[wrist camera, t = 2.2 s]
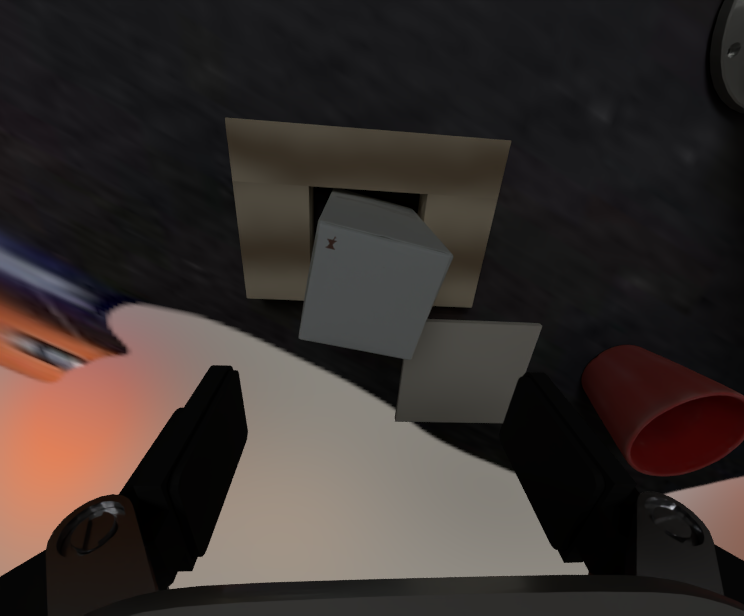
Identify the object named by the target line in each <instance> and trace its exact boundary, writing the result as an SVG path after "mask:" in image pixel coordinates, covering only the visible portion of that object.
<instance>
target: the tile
mask: <svg viewBox="0 0 744 616" xmlns="http://www.w3.org/2000/svg"><path fill="white" fill-rule="evenodd" d="M541 328H542V325H541V324H540V323H521V322H495V321H469V320H443V319H427V320H426V323H425V325H424V328H423V330H422V333H421V335H420V338H419V340H418V343H417V345H416V348H415V351H414V353H413V356H412V358H411V360H406V359H403V362H402V370H401V377H400V384H399V391H398V398H397V406H396V413H395V421H398V422H404V421H405V422H463V423H503V421H504V419H505V416H506V413H507V410H508V407H509V404H510V401H511V398H512V396H513V393H514V390H515V387H516V384H517V381H518V379H519V378H520V377H523V375H524V374H525V372H526V370H527V367H528V364H529V361H530V359H531V356H532V353H533V350H534V348H535V345H536V342H537V339H538V337H539V334H540V331H541Z"/></svg>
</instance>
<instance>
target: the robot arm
mask: <svg viewBox="0 0 744 616" xmlns="http://www.w3.org/2000/svg"><path fill="white" fill-rule="evenodd" d="M710 73H711V77H712V81H713V85H714V88H715V90H716V92H717V94H718V95H719V97H720V99H721V100H722V101H723V102H724V103H725V104H726V105H727V106H728V107H729V108H731V109H733V110H735V111H737V112H739V113H742V114H744V0H724V2H723V4H722V7H721V9H720V11H719V14H718V18H717V21H716V24H715V28H714V31H713V35H712V42H711V49H710ZM247 434H248V429H247V423H246V416H245V410H244V405H243V397H242V392H241V385H240V378H239V373H238V371H236V370H233V368H232V366H218V365H216V366H215V365H213V366H211V367H210V368H209V370H208V371H207V373H206V374H205V376H204V377H203V379H202V380H201V382H200V384H199V385H198V387H197V388H196V390H195V391H194V393H193V394H192V396H191V397H190V399H189V400H188V402H187V403H186V405H185V407H184V408H179V409H177V410H176V411H175V412H174V413H173V415H172V416H171V418H170V419H169V421H168V422H167V424H166V425H165V427H164V428H163V430H162V431H161V433H160V434H159V436H158V437H157V439H156V440H155V441H154V443H153V444H152V446H151V448H150V449H149V450H148V452H147V453H146V455H145V456H144V458H143V459H142V461H141V462H140V464H139V465H138V467H137V468H136V470H135V471H134V473H133V474H132V476H131V477H130V479H129V480H128V482H127V483H126V484H125V486H124V488H123V489H122V491H121V492H120V494H119V495H114V494H112V495H107V496H101V497H99V498H96V499H94V500H91V501H89V502H87V503H85V504H84V505H82V506H80V507H79V508H77V509H76V510H74V511H73V512H72V513H71V514H69V515H68V516H67V517H66V518H65V519H63V521H62V522H61V523H60V524H59V525H58V526H57V528H56V529H55V530H54V531H53V533H52V535H51V537H50V539H49V541H48V543H47V548H46V550H44V551H43V552H41V553H39V554H38V555H36V556H34V557H33V558H31V559H29V560H27V561H26V562H24V563H23V564H21V565H19V566H17V567H16V568H14V569H12V570H11V571H9V572H8V573H6V574H4V575H2V576H1V577H0V616H744V561H743V560H741V559H739V558H738V557H736V556H734V555H732V554H731V553H729V552H727V551H725V550H723V549H722V548H720V547H718V546H717V545H715V544H714V542H713V539H712V536H711V534H710V531H709V530H708V529H707V527H706V526H705V524H704V523H703V522H702V521H701V520H700V519H699V518H698V517H697V516H696V515H695V514H694V513H693V512H692V511H691V510H690V509H688V508H687V507H686V506H684V505H683V504H681V503H680V502H678V501H676V500H675V499H673V498H671V497H669V496H666V495H664V494H661V493H657V492H652V491H648V492H643V493H641V494H640V493H639V492H638V491H637V490H636V488H635V486H636V485H637V483H636V482H635V481H634V480H633V479H632V477H631V476H630V475H629V474H628V473H627V471H626V470H625V469H624V468H623V467H622V465H621V464H620V463H619V462H618V461H617V459H616V458H615V457H614V456H613V455H612V453H611V452H610V451H609V450H608V449H607V447H606V446H605V445H604V444H603V442H602V441H601V440H600V439H599V438H598V436H597V435H596V434H595V433H594V432H593V430H592V429H591V428H590V427H589V426H588V424H587V423H586V422H585V421H584V420H583V418H582V417H581V416H580V415H579V414H578V412H577V411H576V410H575V409H574V408H573V406H572V405H571V404H570V403H569V401H568V400H567V399H566V398H565V397H564V395H563V394H562V393H561V392H560V391H559V389H558V388H557V387H556V386H555V385H554V383H553V382H552V381H551V380H550V379H549V377H548V376H547V375H546V374H545V373H531V372H527V373H525V374H524V375H523V377H520V378H519V379H518V381H517V384H516V387H515V390H514V393H513V396H512V398H511V401H510V404H509V407H508V410H507V413H506V416H505V419H504V421H503V424H502V427H501V430H500V441H501V444H502V446H503V448H504V450H505V452H506V454H507V456H508V458H509V460H510V462H511V464H512V467H513V469H514V471H515V473H516V475H517V477H518V479H519V481H520V483H521V485H522V487H523V489H524V491H525V493H526V495H527V497H528V499H529V501H530V503H531V505H532V507H533V509H534V511H535V513H536V515H537V518H538V520H539V522H540V524H541V526H542V528H543V530H544V532H545V534H546V536H547V538H548V540H549V542H550V544H551V546H552V547H553V548H554V549H556V550H558V552H559V554H560V555H561V557H562V559H563V561H564V563H572V562H583V561H584V563H585V565H586V567H587V568H588V570H589V573H588V575H542V576H541V575H540V576H488V577H447V578H407V579H369V580H337V581H304V582H271V583H250V584H230V585H212V586H196V587H187V588H177V589H169V587H168V586H170V585H171V584H172V583H173V582H174V579H175V577H176V574H177V572H178V571H192V570H193V568H194V565H195V562H196V560H197V557H202V556H203V555H204V554H205V552H206V550H207V547H208V545H209V542H210V539H211V536H212V533H213V531H214V528H215V525H216V523H217V520H218V517H219V515H220V512H221V509H222V506H223V504H224V501H225V498H226V495H227V493H228V490H229V487H230V484H231V482H232V478H233V476H234V474H235V470H236V468H237V465H238V462H239V460H240V457H241V454H242V451H243V449H244V446H245V443H246V440H247Z"/></svg>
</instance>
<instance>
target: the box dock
mask: <svg viewBox="0 0 744 616" xmlns="http://www.w3.org/2000/svg"><path fill="white" fill-rule="evenodd" d="M225 123H226V131H227V139H228V147H229V156H230V164H231V172H232V180H233V188H234V196H235V205H236V213H237V221H238V229H239V237H240V245H241V254H242V262H243V270H244V278H245V286H246V294H247V298H255V299H279V300H302V301H304V298H305V291H306V285H307V279H308V273H309V267H310V262H311V257H312V251H313V246H314V187H328V188H343V189H358V190H373V191H388V192H403V193H418V194H420V198H419V206H418V213H417V215H418V216H419V217H420V218H421V219H422V221H423V222H424V223H425V224H426V225H427V226H428V227H429V228H430V229H431V231H432V232H433V233H434V234H435V235H436V236H437V237H438V238H439V239H440V241H441V242H442V243H443V244H444V245H445V246H446V247H447V249H448V250H449V251H450V252H451V253H452V254H453V260H452V262H451V264H450V266H449V269H448V271H447V273H446V276H445V278H444V281H443V283H442V285H441V287H440V290H439V292H438V294H437V297H436V299H435V301H434V304H433V306H446V307H470V308H472V304H473V300H474V296H475V291H476V287H477V283H478V279H479V275H480V270H481V266H482V262H483V258H484V254H485V249H486V245H487V241H488V237H489V233H490V228H491V224H492V220H493V216H494V212H495V207H496V203H497V199H498V195H499V191H500V186H501V182H502V178H503V174H504V170H505V165H506V161H507V157H508V153H509V149H510V144H511V141H508V140H496V139H483V138H471V137H459V136H446V135H434V134H421V133H409V132H397V131H384V130H372V129H360V128H347V127H335V126H323V125H310V124H298V123H285V122H273V121H261V120H248V119H236V118H225Z"/></svg>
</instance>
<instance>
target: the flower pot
mask: <svg viewBox="0 0 744 616" xmlns="http://www.w3.org/2000/svg"><path fill="white" fill-rule="evenodd" d="M581 382H582V387H583V389H584V391H585V393H586V394H587V396H588V398H589V400H590V401H591V403H592V405H593V407H594V408H595V410H596V412H597V413H598V415H599V417H600V418H601V420H602V422H603V423H604V425H605V427H606V428H607V430H608V431H609V433H610V435H611V436H612V438H613V440H614V441H615V443H616V445H617V446H618V448H619V450H620V451H621V453H622V454H623V456H624V458H625V459H626V461H627V462H628V463H629V465H630V466H632V467H633V468H634V469H635V470H637V471H639V472H641V473H644V474H647V475H653V476H675V475H681V474H686V473H689V472H693V471H696V470H699V469H701V468H703V467H706V466H708V465H710V464H712V463H714V462H716V461H718V460H720V459H721V458H723V457H724V456H726V455H727V454H729V453H730V452H731V451H732V450H734V449H735V448H736V447H737V446H738V445H739V444H740V443H741V442H742V441H743V440H744V395H742V394H740V393H738V392H736V391H734V390H732V389H730V388H728V387H726V386H724V385H722V384H720V383H718V382H716V381H714V380H711V379H709V378H707V377H705V376H703V375H701V374H699V373H696V372H694V371H692V370H690V369H688V368H686V367H684V366H682V365H679V364H677V363H675V362H673V361H671V360H668V359H666V358H664V357H661V356H659V355H657V354H654V353H652V352H650V351H648V350H645V349H643V348H641V347H638V346H635V345H620V346H616V347H612V348H610V349H607V350H605V351H603V352H602V353H600V354H599V355H598V356H597V357H596V358H594V359H593V360H591V361H590V362H589V363H588V365H587V366H586V368H585V369H584V371H583V374H582V379H581Z"/></svg>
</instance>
